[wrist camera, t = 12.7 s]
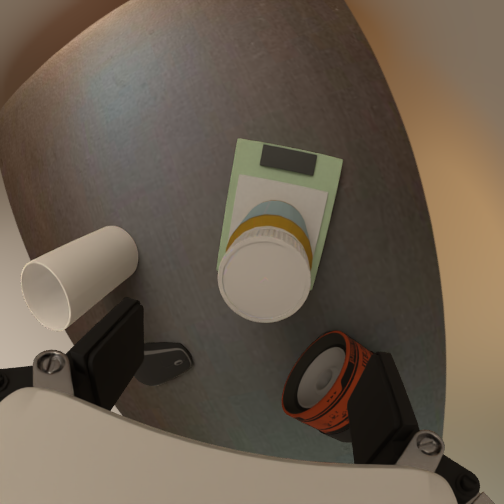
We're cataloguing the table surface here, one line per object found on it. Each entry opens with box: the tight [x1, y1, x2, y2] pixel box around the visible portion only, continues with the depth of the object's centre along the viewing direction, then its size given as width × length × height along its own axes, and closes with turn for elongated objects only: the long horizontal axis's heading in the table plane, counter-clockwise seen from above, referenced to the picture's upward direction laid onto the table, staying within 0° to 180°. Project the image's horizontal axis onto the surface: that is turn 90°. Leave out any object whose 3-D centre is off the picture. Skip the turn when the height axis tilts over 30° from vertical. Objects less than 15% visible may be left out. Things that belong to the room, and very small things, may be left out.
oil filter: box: [282, 331, 375, 442], centre depth 35 cm, size 13×12×13 cm
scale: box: [216, 138, 343, 290], centre depth 35 cm, size 16×12×3 cm
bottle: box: [218, 200, 313, 323], centre depth 26 cm, size 7×7×15 cm
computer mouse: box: [134, 342, 192, 386], centre depth 44 cm, size 7×12×4 cm, turn 110°
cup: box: [21, 226, 138, 331], centre depth 33 cm, size 8×8×16 cm
